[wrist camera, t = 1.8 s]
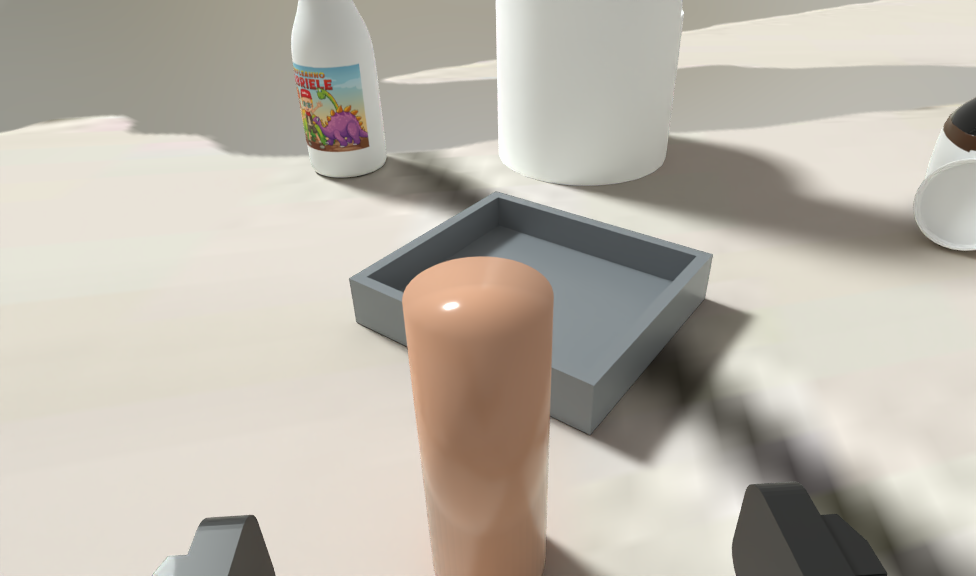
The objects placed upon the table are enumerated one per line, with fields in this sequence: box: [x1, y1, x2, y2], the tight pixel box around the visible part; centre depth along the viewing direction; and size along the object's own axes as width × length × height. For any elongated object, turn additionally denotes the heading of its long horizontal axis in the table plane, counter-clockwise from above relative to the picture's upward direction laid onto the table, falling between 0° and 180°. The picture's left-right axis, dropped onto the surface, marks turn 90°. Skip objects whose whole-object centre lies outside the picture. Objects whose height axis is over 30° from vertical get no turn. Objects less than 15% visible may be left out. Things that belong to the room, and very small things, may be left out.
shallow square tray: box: [349, 191, 713, 435], centre depth 44 cm, size 18×16×4 cm
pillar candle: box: [402, 256, 554, 576], centre depth 26 cm, size 5×5×14 cm
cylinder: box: [496, 0, 684, 186], centre depth 62 cm, size 17×17×28 cm
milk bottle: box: [291, 0, 387, 177], centre depth 63 cm, size 8×8×20 cm
